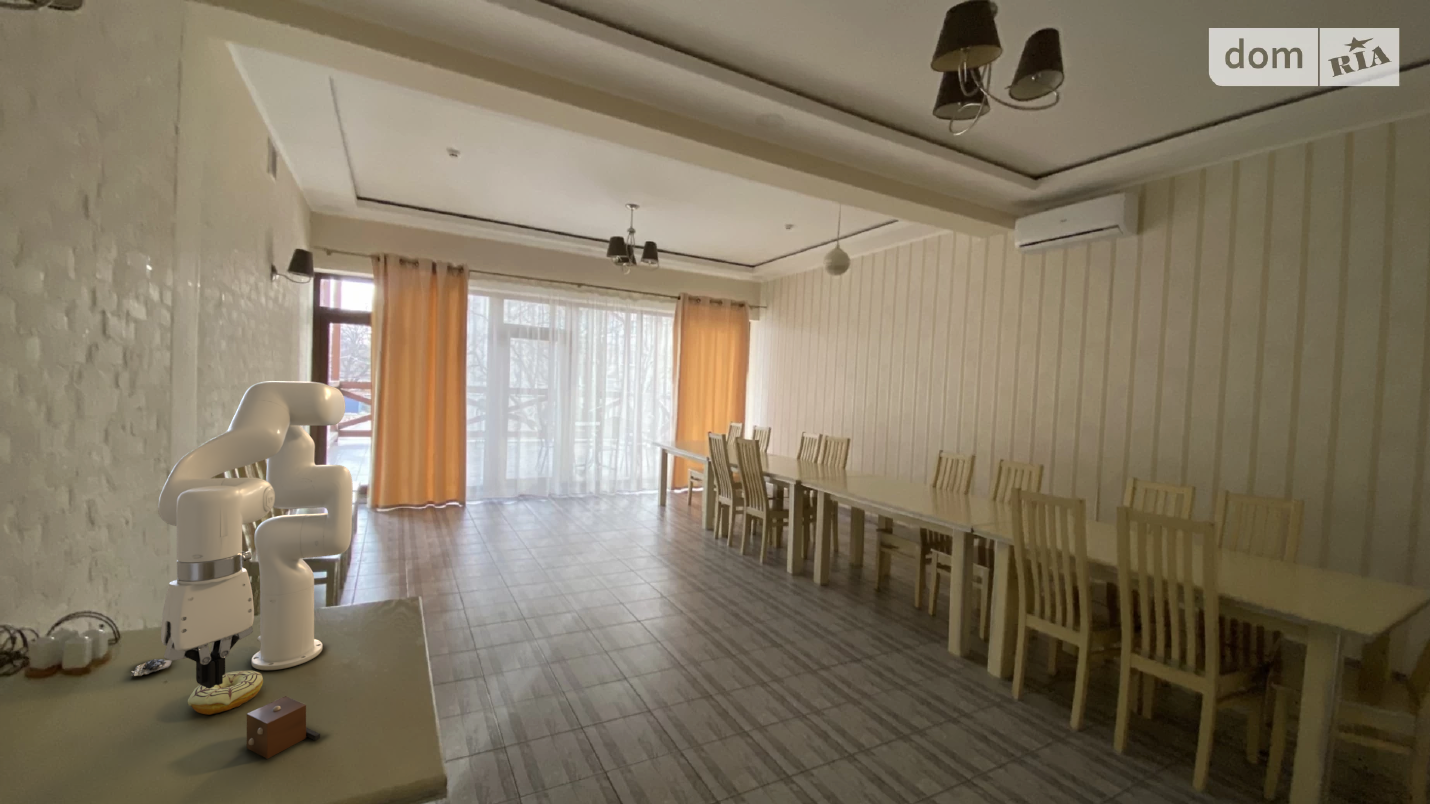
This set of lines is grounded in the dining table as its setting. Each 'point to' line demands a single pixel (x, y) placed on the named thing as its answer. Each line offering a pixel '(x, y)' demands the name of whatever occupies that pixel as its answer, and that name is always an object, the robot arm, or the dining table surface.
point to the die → (276, 726)
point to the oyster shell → (151, 667)
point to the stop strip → (312, 734)
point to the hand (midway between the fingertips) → (210, 684)
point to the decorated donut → (226, 692)
